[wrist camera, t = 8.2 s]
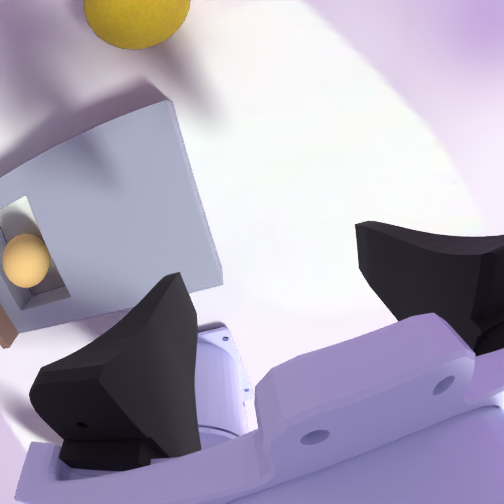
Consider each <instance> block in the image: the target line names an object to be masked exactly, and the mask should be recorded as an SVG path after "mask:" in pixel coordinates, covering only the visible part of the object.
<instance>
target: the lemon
mask: <svg viewBox="0 0 504 504" xmlns="http://www.w3.org/2000/svg"><path fill="white" fill-rule="evenodd" d="M189 8H190V0H84V12H85V15H86V19H87V22H88V24H89V26H90V27H91V28H92V30H93V31H94V32H95V34H96V35H97V36H98V37H99V38H101V39H102V40H104V41H105V42H107V43H108V44H110V45H113V46H116V47H119V48H122V49H142V48H148V47H151V46H154V45H157V44H159V43H161V42H163V41H164V40H166V39H168V38H169V37H170V36H171V35H173V34H174V33H175V32H176V31H177V30H178V29H179V27H180V26H181V25H182V23H183V22H184V21H185V18H186V16H187V14H188V11H189Z"/></svg>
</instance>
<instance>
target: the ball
mask: <svg viewBox="0 0 504 504" xmlns="http://www.w3.org/2000/svg"><path fill="white" fill-rule="evenodd" d="M2 262H3V268H4V271H5V274H6V276H7V277H8V279H9V280H10V281H11V282H12V283H13V284H15V285H17V286H19V287H23V288H29V287H33V286H36V285H37V284H39V283H40V282H41V281H42V280H43V279H44V277H45V276H46V274H47V272H48V268H49V253H48V250H47V248H46V246H45V244H44V243H43V242H42V241H41V240H40V239H39V238H38V237H36V236H34V235H32V234H19V235H17V236H15V237H14V238H12V239H11V240H10V241H9V242H8V244H7V245H6V247H5V249H4V252H3V258H2Z"/></svg>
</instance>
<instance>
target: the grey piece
mask: <svg viewBox="0 0 504 504" xmlns="http://www.w3.org/2000/svg"><path fill="white" fill-rule="evenodd" d="M25 195H26V196H27V199H28V201H29V204H30V207H31V209H32V212H33V215H34V217H35V220H36V222H37V225H38V227H39V230H40V232H41V234H42V237H43V239H44V241H45V244H46V246H47V248H48V250H49V253H50V255H51V257H52V259H53V261H54V263H55V265H56V268H57V270H58V272H59V274H60V276H61V278H62V280H63V282H64V284H65V286H63V287H60V288H57V289H53V290H50V291H47V292H44V293H40V294H37V295H34V296H32V294H31V292H30V290H29V288H23V287H19V286H17V285H15V284H13V283H12V282H11V281H10V280H9V279H8V277H7V276H6V274H5V271H4V268H3V262H2V258H3V252H4V249H5V247H6V245H7V243H6V240H5V238H4V236H3V233H2V231H1V228H0V345H1V346H2V348H3V349H4V348H9V347H10V346H11V344H12V343H13V341H14V340H15V338H16V337H17V335H18V334H19V333H23V332H27V331H32V330H37V329H41V328H46V327H50V326H55V325H59V324H64V323H68V322H73V321H77V320H81V319H86V318H90V317H94V316H99V315H103V314H107V313H111V312H116V311H120V310H124V309H128V308H132V307H135V306H136V305H137V304H138V303H139V302H140V301H141V300H142V299H143V298H144V297H145V296H146V295H147V294H148V292H149V291H150V290H151V289H152V288H153V287H154V286H155V285H156V284H157V283H158V282H159V281H160V280H161V279H162V278H163V277H164V276H166V275H169V274H173V273H176V272H180V273H181V276H182V278H183V281H184V284H185V286H186V288H187V291H188V293H192V292H196V291H200V290H204V289H208V288H212V287H216V286H220V285H223V276H222V266H221V263H220V260H219V257H218V254H217V251H216V248H215V244H214V241H213V238H212V235H211V232H210V228H209V225H208V222H207V219H206V216H205V212H204V209H203V206H202V202H201V199H200V196H199V193H198V189H197V186H196V183H195V179H194V176H193V172H192V169H191V166H190V162H189V159H188V155H187V152H186V148H185V145H184V141H183V138H182V134H181V131H180V127H179V124H178V120H177V116H176V113H175V109H174V105H173V102H171V101H169V100H164V101H161V102H158V103H155V104H152V105H149V106H146V107H144V108H141V109H138V110H135V111H133V112H130V113H128V114H125V115H122V116H120V117H117V118H115V119H113V120H110V121H108V122H105V123H103V124H101V125H98V126H96V127H94V128H92V129H89V130H87V131H85V132H83V133H81V134H79V135H76V136H74V137H72V138H70V139H68V140H66V141H64V142H62V143H60V144H58V145H56V146H54V147H52V148H51V149H49V150H47V151H45V152H43V153H41V154H39V155H38V156H36V157H34V158H32V159H31V160H29V161H27V162H25V163H24V164H22V165H20V166H19V167H17V168H15V169H14V170H12V171H10V172H9V173H7V174H6V175H4V176H2V177H1V178H0V209H2V208H3V207H5V206H7V205H9V204H10V203H12V202H14V201H16V200H18V199H19V198H21V197H23V196H25Z"/></svg>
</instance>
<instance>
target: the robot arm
mask: <svg viewBox="0 0 504 504" xmlns="http://www.w3.org/2000/svg"><path fill="white" fill-rule="evenodd" d="M355 228H356V238H357V249H358V261H359V269H360V271H361V272H362V274H363V276H364V278H365V279H366V281H367V282H368V284H369V286H370V287H371V288H372V289H373V291H374V292H375V293H376V294H377V295H378V297H379V298H380V299H381V300H382V301H383V303H384V304H385V305H386V306H387V308H388V309H389V310H390V311H391V312H392V314H393V315H394V316H395V317H396V319H397V320H398V321H399V322H396V323H394V324H391V325H389V326H386V327H383V328H381V329H378V330H375V331H373V332H370V333H367V334H364V335H361V336H359V337H356V338H353V339H350V340H347V341H344V342H341V343H338V344H335V345H332V346H328V347H325V348H322V349H319V350H316V351H312V352H309V353H306V354H302V355H299V356H297V357H294V358H292V359H290V360H288V361H286V362H284V363H282V364H280V365H278V366H276V367H273V368H272V369H271V370H270V371H269V372H268V373H267V374H266V375H265V376H264V378H263V379H262V380H261V381H260V382H259V383H258V384H257V385H256V386H255V402H254V404H255V410H256V416H257V422H258V429H256V430H254V431H251V432H249V427H248V420H247V413H246V405H245V400H247V399H251V398H253V397H254V392H253V389H252V387H251V384H250V382H249V379H248V377H247V374H246V372H245V369H244V367H243V364H242V362H241V359H240V356H239V354H238V351H237V349H236V346H235V343H234V341H233V338H232V336H231V333H230V330H229V329H228V328H226V327H221V328H217V329H212V330H208V331H204V332H200V333H198V326H197V313H196V310H195V308H194V306H193V303H192V301H191V298H190V296H189V293H188V291H187V288H186V286H185V284H184V281H183V278H182V276H181V273H180V272H176V273H173V274H169V275H166V276H164V277H163V278H162V279H161V280H160V281H159V282H158V283H157V284H156V285H155V286H154V287H153V288H152V289H151V290H150V291H149V292H148V294H147V295H146V296H145V297H144V298H143V299H142V300H141V301H140V302H139V303H138V304H137V305H136V306H135V307H134V308H133V309H132V310H131V311H130V312H129V313H128V314H127V315H126V316H125V317H124V318H123V319H122V320H120V321H119V322H118V323H117V324H116V325H114V326H113V327H112V328H111V329H110V330H108V331H107V332H106V333H104V334H103V335H101V336H100V337H98V338H97V339H95V340H94V341H93V342H91V343H90V344H88V345H86V346H85V347H83V348H81V349H80V350H78V351H76V352H74V353H72V354H70V355H68V356H66V357H64V358H62V359H60V360H58V361H55V362H53V363H51V364H49V365H46V366H44V367H42V368H41V369H40V371H39V373H38V375H37V377H36V379H35V381H34V383H33V385H32V387H31V389H30V393H29V397H30V402H31V404H32V405H33V407H34V409H35V411H36V412H37V413H38V414H39V416H40V417H41V418H42V419H43V420H44V421H45V422H46V423H47V424H48V425H49V426H50V427H51V428H52V429H53V430H54V431H55V432H56V433H57V434H58V435H59V436H61V437H62V438H63V439H64V442H63V445H62V447H60V446H58V445H56V444H52V443H42V442H31V444H30V447H29V450H28V453H27V456H26V459H25V462H24V465H23V469H22V472H21V475H20V479H19V482H18V486H17V490H16V493H15V497H14V498H15V500H16V501H17V502H19V503H21V504H504V235H499V236H485V237H462V236H448V235H439V234H432V233H427V232H421V231H416V230H412V229H407V228H403V227H399V226H395V225H390V224H386V223H381V222H376V221H366V222H362V223H359V224H355ZM223 337H228V338H223Z"/></svg>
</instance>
